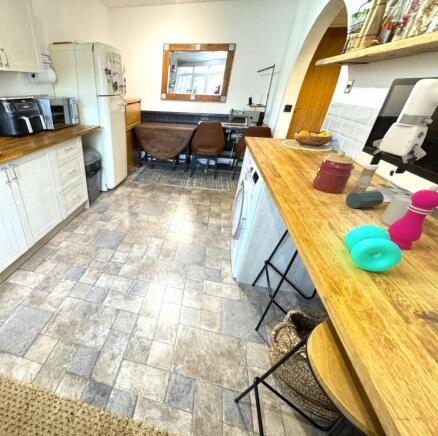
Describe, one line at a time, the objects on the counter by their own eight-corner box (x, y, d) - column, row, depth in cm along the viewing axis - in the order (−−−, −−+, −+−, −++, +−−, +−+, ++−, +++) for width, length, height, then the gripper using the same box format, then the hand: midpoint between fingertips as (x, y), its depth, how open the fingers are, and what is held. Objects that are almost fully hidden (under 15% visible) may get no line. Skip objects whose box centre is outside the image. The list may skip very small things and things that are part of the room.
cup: (343, 203, 101) (364, 201, 102) (356, 210, 95) (379, 208, 96) (349, 189, 98) (371, 187, 99) (363, 196, 92) (386, 194, 93)
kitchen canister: (340, 185, 118) (356, 150, 109) (346, 195, 108) (364, 157, 99) (310, 181, 122) (323, 146, 113) (313, 190, 112) (328, 153, 103)
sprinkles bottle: (365, 192, 111) (380, 164, 104) (362, 195, 108) (377, 166, 102) (354, 189, 114) (367, 162, 107) (350, 191, 112) (364, 163, 105)
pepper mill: (383, 245, 75) (420, 187, 65) (379, 235, 80) (414, 179, 70) (414, 253, 72) (459, 193, 62) (408, 242, 77) (449, 184, 67)
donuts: (377, 256, 71) (395, 227, 66) (391, 278, 63) (413, 248, 58) (337, 247, 74) (351, 220, 69) (345, 267, 66) (362, 238, 61)
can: (403, 222, 88) (422, 192, 82) (409, 232, 82) (431, 201, 76) (377, 217, 91) (394, 188, 85) (381, 226, 85) (400, 195, 79)
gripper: (452, 124, 75) (419, 176, 83) (395, 116, 89) (372, 161, 98) (432, 125, 74) (401, 177, 82) (378, 116, 88) (356, 162, 97)
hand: (385, 168), depth 90 cm, fingers open, 9 cm apart
